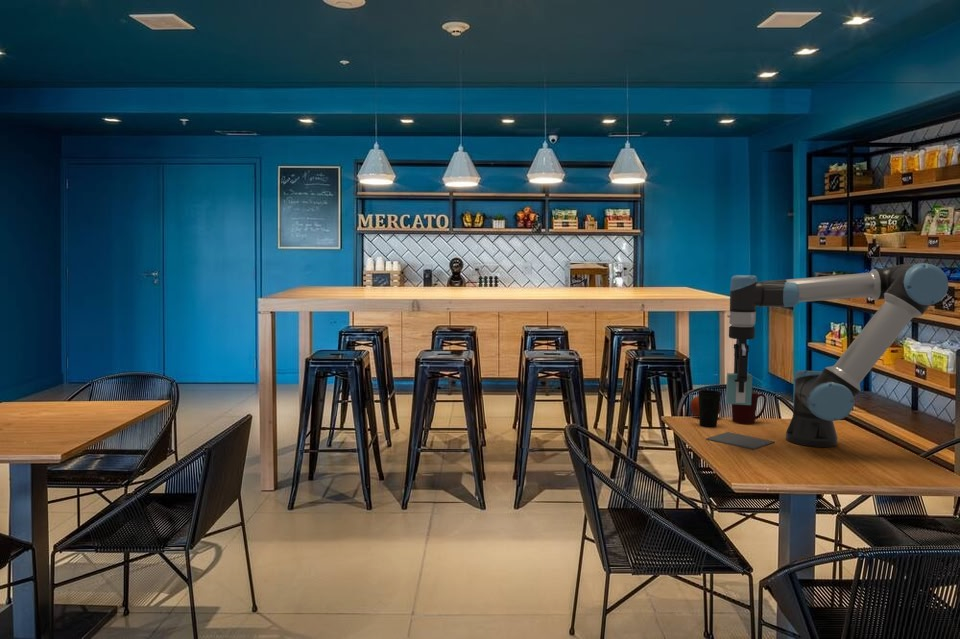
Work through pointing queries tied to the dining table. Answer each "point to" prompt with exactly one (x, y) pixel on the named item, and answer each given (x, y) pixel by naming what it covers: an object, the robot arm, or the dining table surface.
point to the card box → (732, 389)
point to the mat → (740, 440)
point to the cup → (709, 407)
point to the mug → (747, 410)
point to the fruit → (696, 406)
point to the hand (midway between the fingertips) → (739, 401)
